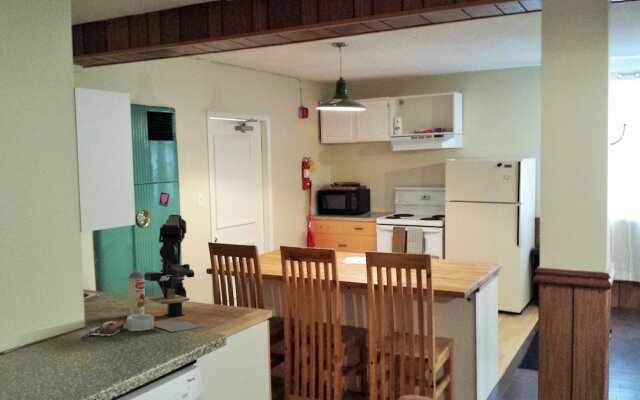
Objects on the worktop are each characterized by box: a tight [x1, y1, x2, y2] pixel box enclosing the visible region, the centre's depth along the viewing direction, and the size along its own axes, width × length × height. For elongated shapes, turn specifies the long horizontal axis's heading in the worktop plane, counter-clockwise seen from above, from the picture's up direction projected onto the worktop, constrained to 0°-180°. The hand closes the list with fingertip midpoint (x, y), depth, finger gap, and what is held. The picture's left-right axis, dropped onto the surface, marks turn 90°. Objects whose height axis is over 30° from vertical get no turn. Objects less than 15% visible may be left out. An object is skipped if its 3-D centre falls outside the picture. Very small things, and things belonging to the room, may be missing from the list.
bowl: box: [126, 314, 155, 330], centre depth 217 cm, size 10×10×4 cm
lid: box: [148, 288, 190, 305], centre depth 220 cm, size 11×11×4 cm
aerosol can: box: [126, 268, 146, 318], centre depth 240 cm, size 7×7×20 cm
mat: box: [154, 320, 203, 332], centre depth 221 cm, size 13×13×1 cm
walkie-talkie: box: [80, 320, 124, 340], centre depth 208 cm, size 9×4×20 cm
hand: (169, 297), depth 220 cm, fingers closed on lid, 3 cm apart
